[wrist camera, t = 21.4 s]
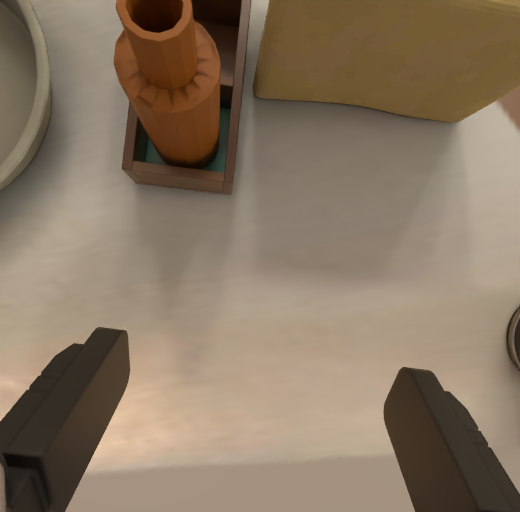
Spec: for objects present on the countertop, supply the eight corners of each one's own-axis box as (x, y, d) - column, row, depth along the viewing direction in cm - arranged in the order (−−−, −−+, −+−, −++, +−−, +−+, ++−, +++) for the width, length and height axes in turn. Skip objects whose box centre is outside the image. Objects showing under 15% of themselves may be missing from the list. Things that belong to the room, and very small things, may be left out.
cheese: (467, 74, 35) (652, -65, 20) (449, 160, 34) (625, 82, 20) (271, 7, 32) (318, -212, 17) (249, 98, 32) (276, -46, 17)
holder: (247, 25, 32) (252, -14, 27) (230, 195, 31) (233, 183, 27) (155, 8, 31) (144, -37, 26) (135, 183, 30) (121, 169, 26)
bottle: (221, 116, 31) (226, -44, 15) (215, 176, 30) (213, 79, 14) (159, 106, 30) (92, -73, 14) (152, 167, 30) (77, 57, 14)
